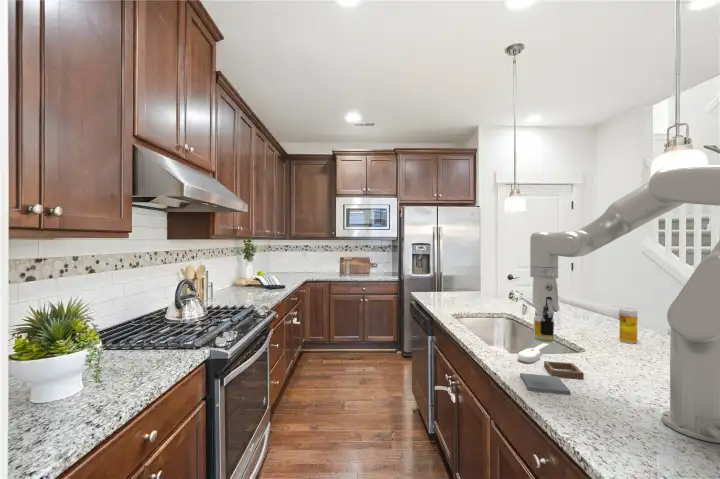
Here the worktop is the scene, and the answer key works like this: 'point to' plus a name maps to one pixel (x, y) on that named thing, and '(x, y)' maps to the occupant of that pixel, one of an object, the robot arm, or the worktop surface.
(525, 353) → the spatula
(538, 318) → the supplement bottle
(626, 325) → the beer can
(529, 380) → the rubber mat
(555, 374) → the collar
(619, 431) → the worktop surface
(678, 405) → the robot arm
